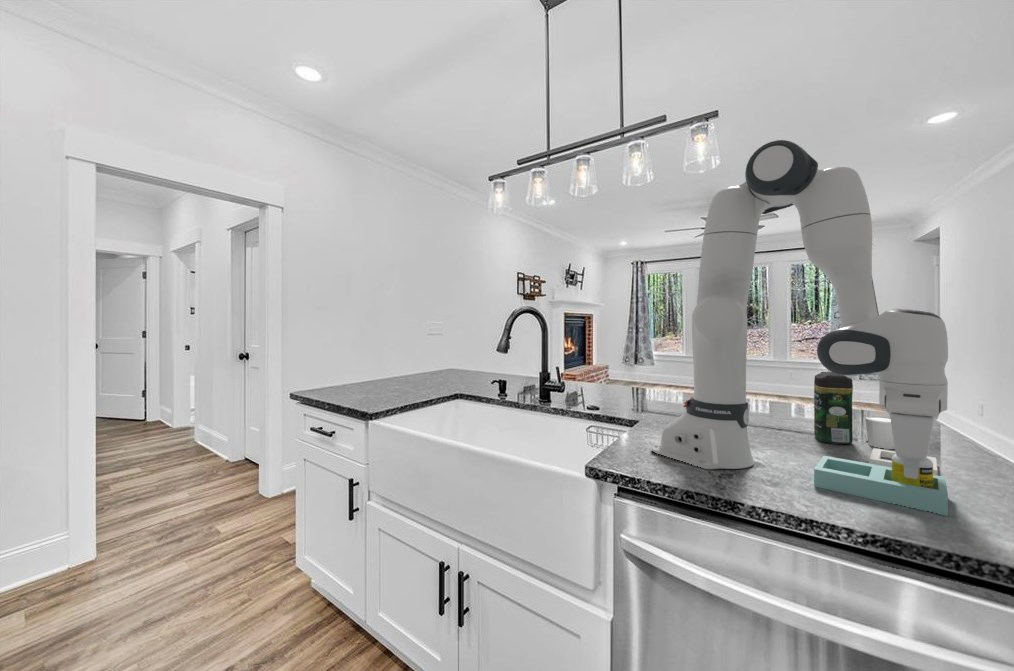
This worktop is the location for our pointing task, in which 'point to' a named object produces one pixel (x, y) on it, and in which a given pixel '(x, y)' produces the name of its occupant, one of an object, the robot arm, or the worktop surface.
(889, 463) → the white shallow tray
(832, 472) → the block
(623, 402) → the worktop surface
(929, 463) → the supplement bottle
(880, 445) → the white round container
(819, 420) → the coffee jar
